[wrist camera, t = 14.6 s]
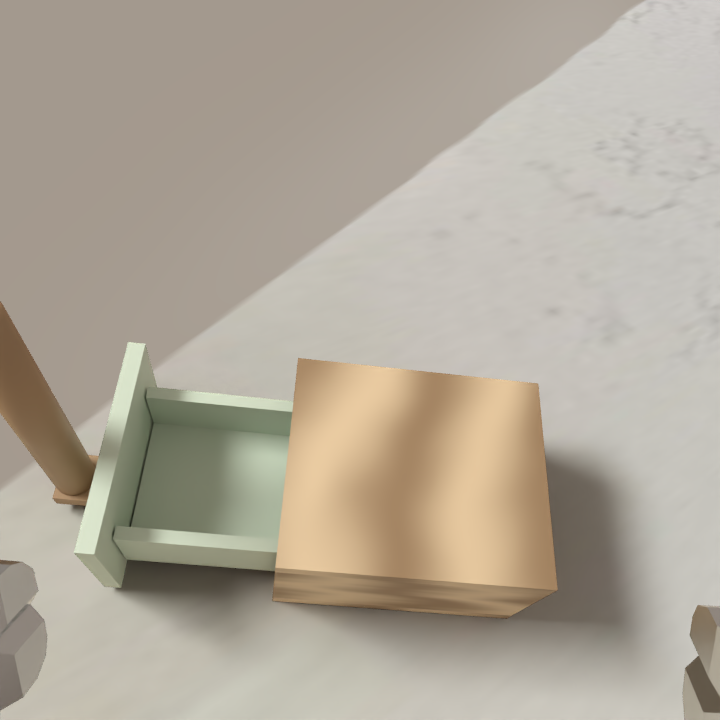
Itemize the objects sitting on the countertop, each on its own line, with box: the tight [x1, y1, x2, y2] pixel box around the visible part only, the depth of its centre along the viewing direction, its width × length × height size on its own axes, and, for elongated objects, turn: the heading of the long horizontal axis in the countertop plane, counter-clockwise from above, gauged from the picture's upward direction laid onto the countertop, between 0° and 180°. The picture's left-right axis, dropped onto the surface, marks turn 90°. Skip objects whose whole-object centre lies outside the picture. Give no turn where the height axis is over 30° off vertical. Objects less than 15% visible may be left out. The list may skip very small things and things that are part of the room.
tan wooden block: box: [272, 358, 558, 619], centre depth 34 cm, size 12×10×7 cm
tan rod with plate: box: [0, 302, 293, 588], centre depth 29 cm, size 15×10×16 cm, turn 87°
